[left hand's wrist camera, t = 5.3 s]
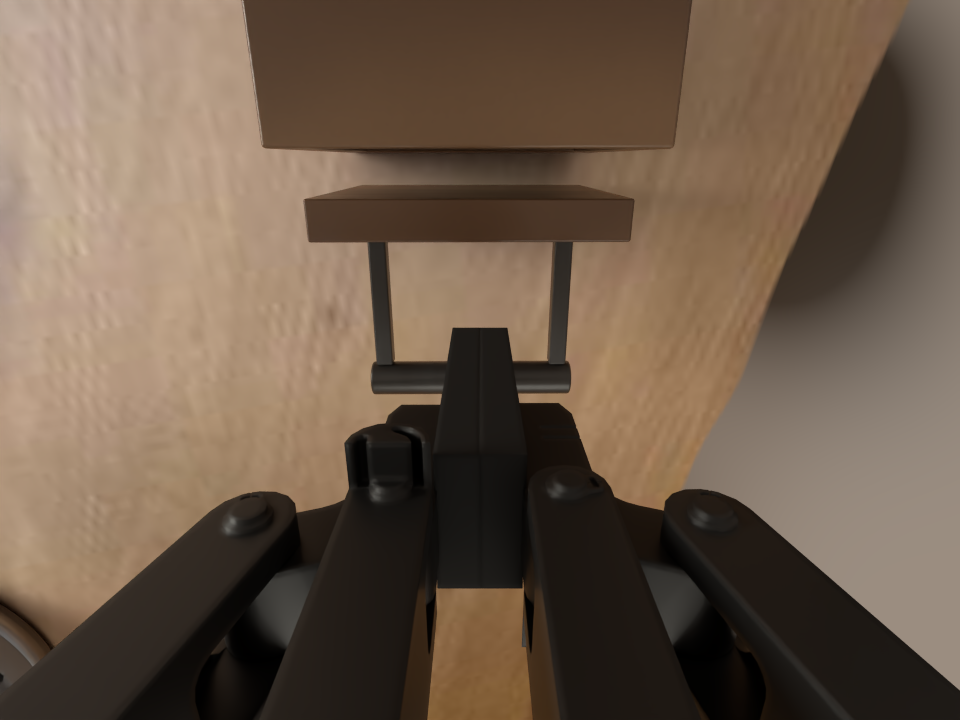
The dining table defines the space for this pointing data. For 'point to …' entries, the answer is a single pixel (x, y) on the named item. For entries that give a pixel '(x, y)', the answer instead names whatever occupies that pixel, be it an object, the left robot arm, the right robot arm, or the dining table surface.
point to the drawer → (468, 219)
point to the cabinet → (467, 74)
